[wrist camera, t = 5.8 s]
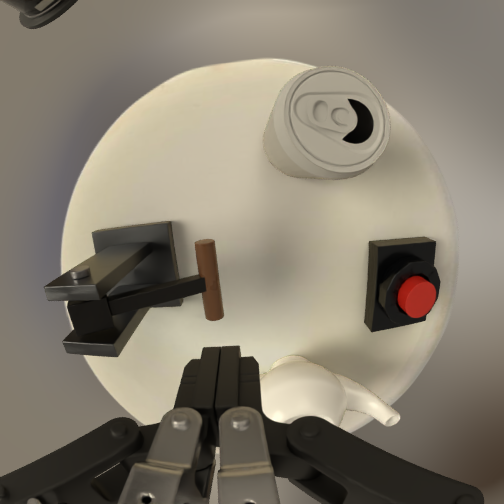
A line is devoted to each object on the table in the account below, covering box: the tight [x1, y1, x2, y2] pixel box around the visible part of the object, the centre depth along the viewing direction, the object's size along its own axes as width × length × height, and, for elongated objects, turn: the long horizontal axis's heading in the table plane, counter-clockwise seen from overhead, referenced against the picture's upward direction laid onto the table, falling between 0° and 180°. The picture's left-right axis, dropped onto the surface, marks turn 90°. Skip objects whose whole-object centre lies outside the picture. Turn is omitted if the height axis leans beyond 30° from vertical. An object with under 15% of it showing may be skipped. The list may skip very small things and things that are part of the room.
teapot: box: [260, 355, 400, 427], centre depth 25 cm, size 10×20×9 cm, turn 87°
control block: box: [364, 237, 440, 332], centre depth 25 cm, size 9×7×4 cm
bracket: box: [44, 221, 183, 357], centre depth 21 cm, size 8×8×12 cm
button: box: [397, 276, 436, 318], centre depth 23 cm, size 4×4×2 cm
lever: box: [67, 239, 224, 336], centre depth 19 cm, size 11×6×2 cm, turn 95°
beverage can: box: [263, 66, 390, 180], centre depth 18 cm, size 6×6×12 cm
